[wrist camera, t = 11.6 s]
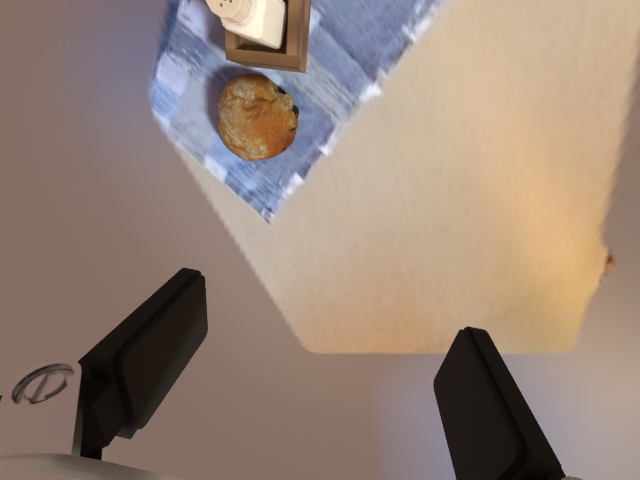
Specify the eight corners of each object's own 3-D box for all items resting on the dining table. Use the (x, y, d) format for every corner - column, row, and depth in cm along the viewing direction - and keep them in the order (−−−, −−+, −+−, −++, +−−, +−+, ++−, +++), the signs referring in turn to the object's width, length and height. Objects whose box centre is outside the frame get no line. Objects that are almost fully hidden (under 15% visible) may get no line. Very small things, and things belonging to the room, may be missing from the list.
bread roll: (244, 78, 38) (192, 72, 32) (305, 74, 33) (256, 67, 27) (252, 152, 42) (207, 160, 36) (306, 160, 37) (264, 170, 31)
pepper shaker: (254, -7, 28) (199, -54, 19) (291, 5, 28) (251, -37, 19) (248, 40, 30) (195, 15, 21) (282, 51, 29) (243, 31, 21)
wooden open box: (246, -12, 30) (222, -36, 25) (311, -6, 30) (300, -30, 25) (247, 66, 34) (226, 59, 29) (306, 73, 33) (295, 67, 28)
